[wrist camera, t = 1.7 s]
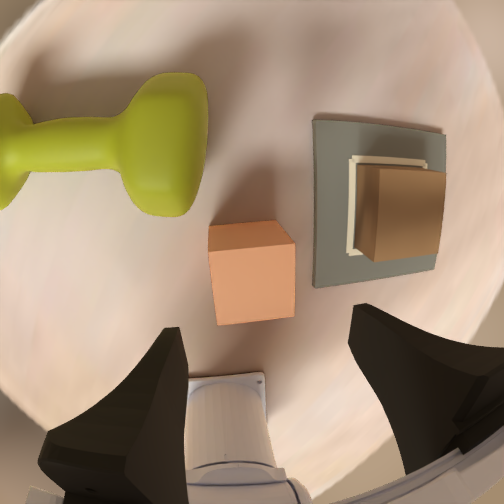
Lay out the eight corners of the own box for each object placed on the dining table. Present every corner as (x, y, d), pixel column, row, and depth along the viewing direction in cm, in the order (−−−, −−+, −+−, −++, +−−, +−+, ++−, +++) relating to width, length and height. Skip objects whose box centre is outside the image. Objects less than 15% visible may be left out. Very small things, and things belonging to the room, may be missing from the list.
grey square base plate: (430, 266, 23) (434, 269, 22) (312, 285, 22) (315, 288, 21) (441, 134, 19) (446, 135, 18) (312, 120, 17) (315, 119, 17)
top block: (276, 279, 21) (294, 316, 17) (215, 286, 21) (217, 325, 16) (275, 220, 20) (295, 243, 15) (208, 225, 19) (207, 252, 15)
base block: (415, 240, 21) (437, 253, 18) (354, 246, 20) (373, 262, 18) (421, 167, 19) (446, 172, 16) (357, 164, 18) (379, 168, 16)
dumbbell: (215, 88, 16) (218, 54, 9) (201, 208, 19) (195, 242, 12) (10, 100, 13) (-50, 95, 7) (5, 199, 16) (-54, 225, 9)
